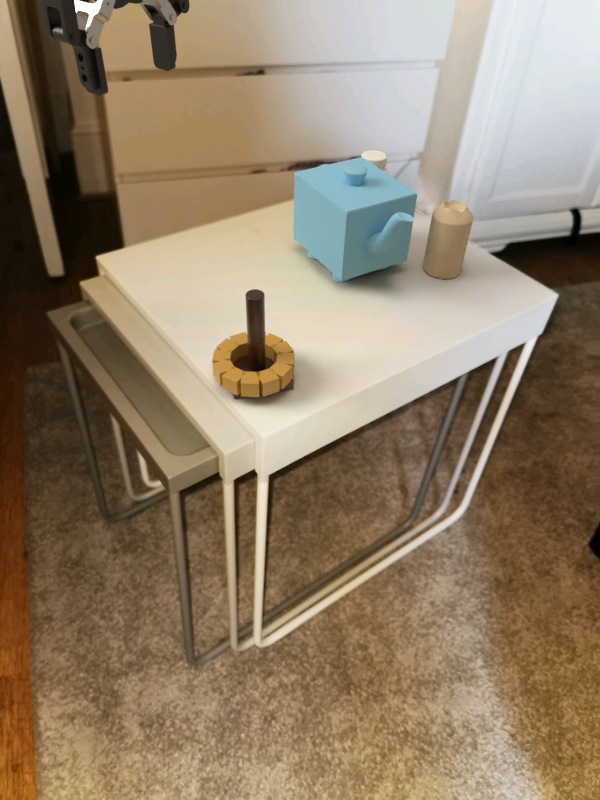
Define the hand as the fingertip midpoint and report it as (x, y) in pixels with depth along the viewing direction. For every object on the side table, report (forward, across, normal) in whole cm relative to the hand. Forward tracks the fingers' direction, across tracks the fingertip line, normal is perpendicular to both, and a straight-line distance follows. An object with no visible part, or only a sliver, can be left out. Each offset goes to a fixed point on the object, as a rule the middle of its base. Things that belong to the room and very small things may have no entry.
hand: (132, 80), depth 58 cm
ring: (+29, 0, +13) cm, 32 cm away
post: (+30, -1, +13) cm, 33 cm away
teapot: (+30, -29, +9) cm, 43 cm away
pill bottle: (+30, -45, +2) cm, 54 cm away
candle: (+30, -35, +20) cm, 51 cm away
